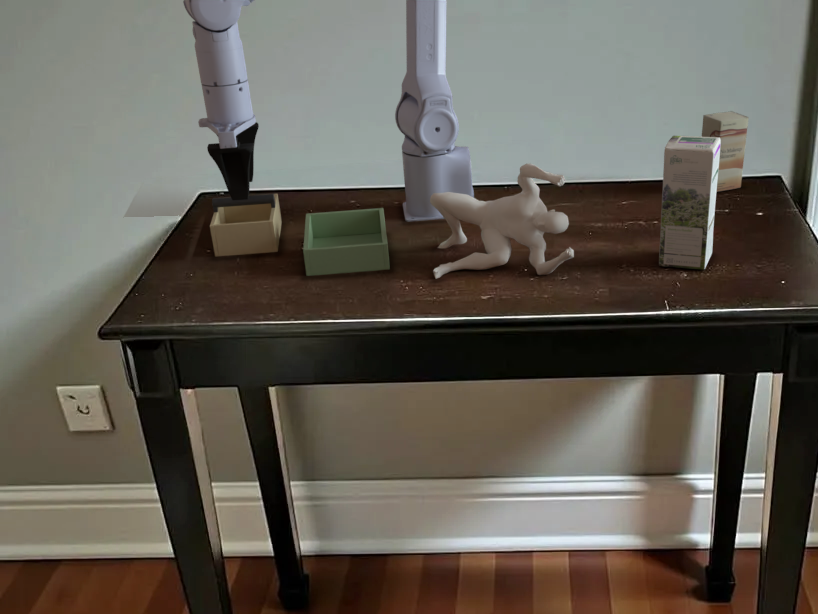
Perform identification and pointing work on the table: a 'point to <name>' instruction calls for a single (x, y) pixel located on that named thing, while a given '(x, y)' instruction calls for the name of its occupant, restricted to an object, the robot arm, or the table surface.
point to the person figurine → (504, 224)
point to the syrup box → (688, 201)
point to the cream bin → (246, 225)
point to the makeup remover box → (728, 145)
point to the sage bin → (345, 242)
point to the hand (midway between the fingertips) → (242, 190)
